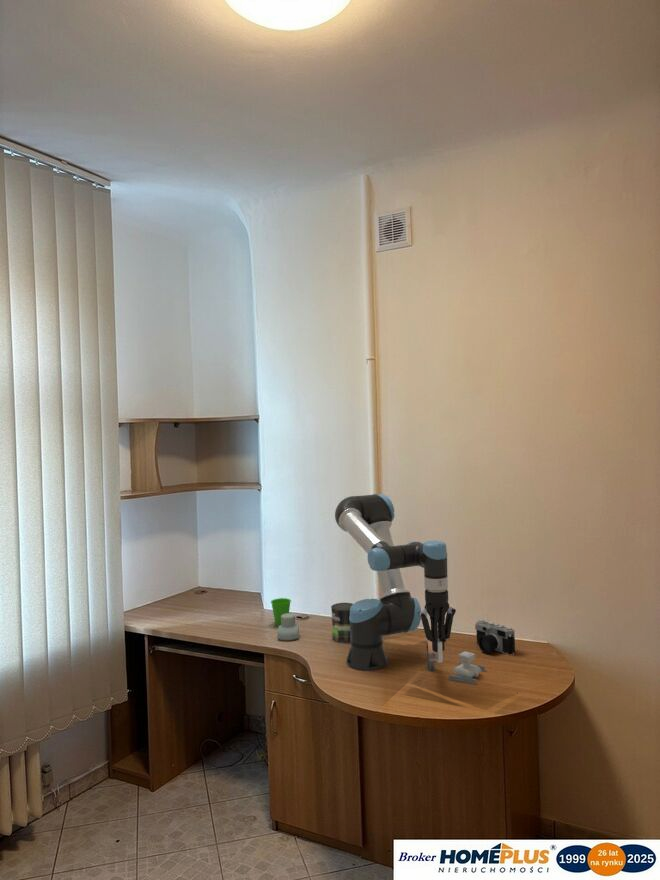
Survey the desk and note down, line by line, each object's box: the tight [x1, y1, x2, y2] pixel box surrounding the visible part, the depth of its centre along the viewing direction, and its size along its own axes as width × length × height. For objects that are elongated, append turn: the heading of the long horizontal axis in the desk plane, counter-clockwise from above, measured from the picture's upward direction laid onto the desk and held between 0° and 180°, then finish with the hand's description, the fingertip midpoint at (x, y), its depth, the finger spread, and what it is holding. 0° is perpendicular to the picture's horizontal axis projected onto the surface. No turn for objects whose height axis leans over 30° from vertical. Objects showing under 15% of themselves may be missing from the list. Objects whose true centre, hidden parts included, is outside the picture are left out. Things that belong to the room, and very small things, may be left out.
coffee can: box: [330, 602, 354, 644], centre depth 247 cm, size 10×10×14 cm
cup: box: [270, 597, 292, 628], centre depth 267 cm, size 9×9×11 cm
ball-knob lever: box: [424, 636, 436, 662], centre depth 205 cm, size 20×4×2 cm, turn 173°
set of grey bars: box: [425, 644, 486, 685], centre depth 210 cm, size 20×13×10 cm, turn 61°
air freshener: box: [277, 612, 300, 642], centre depth 250 cm, size 11×8×10 cm
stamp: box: [453, 650, 482, 679], centre depth 207 cm, size 9×7×8 cm
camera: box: [474, 618, 516, 655], centre depth 231 cm, size 18×10×10 cm, turn 37°
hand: (438, 660), depth 198 cm, fingers closed
